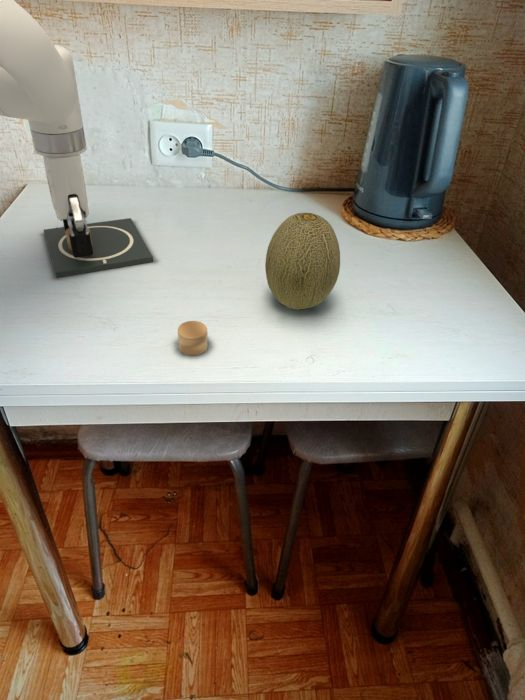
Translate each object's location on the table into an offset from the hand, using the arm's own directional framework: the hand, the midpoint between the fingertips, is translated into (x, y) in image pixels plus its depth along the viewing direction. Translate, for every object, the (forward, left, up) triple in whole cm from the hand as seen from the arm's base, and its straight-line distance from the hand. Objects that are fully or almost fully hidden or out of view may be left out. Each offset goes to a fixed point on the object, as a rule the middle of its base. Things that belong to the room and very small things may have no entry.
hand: (79, 243), depth 88 cm
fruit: (+29, -27, -2) cm, 40 cm away
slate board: (+3, +1, -2) cm, 4 cm away
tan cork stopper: (+10, -31, -2) cm, 33 cm away
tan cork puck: (0, 0, -1) cm, 1 cm away
